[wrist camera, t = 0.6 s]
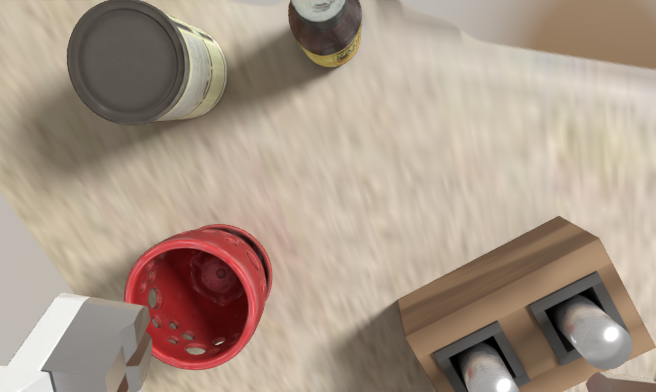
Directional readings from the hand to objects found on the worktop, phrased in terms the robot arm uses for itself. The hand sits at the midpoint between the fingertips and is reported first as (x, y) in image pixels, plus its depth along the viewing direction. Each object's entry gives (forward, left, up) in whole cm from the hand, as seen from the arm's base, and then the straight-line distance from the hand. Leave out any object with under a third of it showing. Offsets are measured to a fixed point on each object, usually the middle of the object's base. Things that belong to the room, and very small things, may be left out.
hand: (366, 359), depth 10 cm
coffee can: (+17, +13, -49) cm, 54 cm away
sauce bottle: (+12, -3, -49) cm, 51 cm away
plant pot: (-4, +21, -49) cm, 54 cm away
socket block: (-23, -5, -49) cm, 55 cm away
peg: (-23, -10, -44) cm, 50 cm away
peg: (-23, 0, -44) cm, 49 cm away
